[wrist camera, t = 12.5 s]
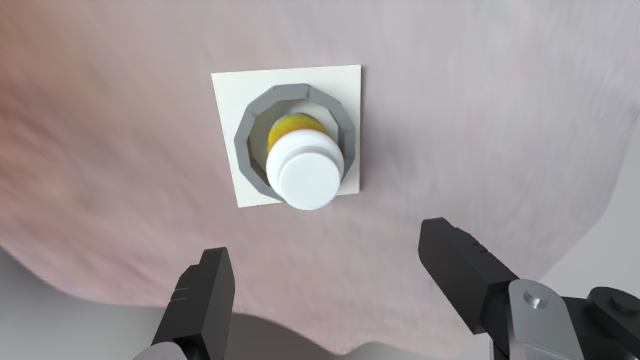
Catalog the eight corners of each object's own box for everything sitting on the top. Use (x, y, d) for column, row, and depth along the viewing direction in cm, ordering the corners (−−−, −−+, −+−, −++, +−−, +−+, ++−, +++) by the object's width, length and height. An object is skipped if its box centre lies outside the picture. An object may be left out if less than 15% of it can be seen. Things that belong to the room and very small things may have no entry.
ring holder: (213, 73, 23) (203, 74, 20) (358, 64, 25) (370, 64, 22) (239, 203, 28) (235, 221, 25) (357, 189, 30) (367, 204, 27)
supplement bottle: (257, 125, 25) (248, 162, 15) (312, 101, 25) (336, 124, 15) (282, 175, 27) (287, 233, 18) (332, 154, 27) (364, 201, 18)
